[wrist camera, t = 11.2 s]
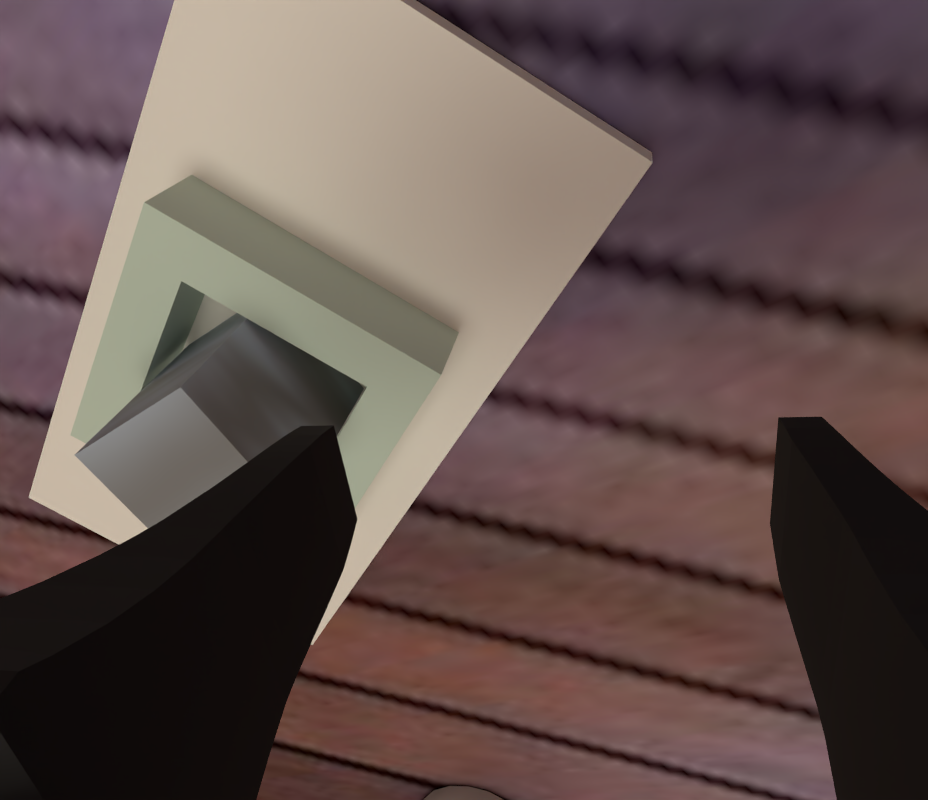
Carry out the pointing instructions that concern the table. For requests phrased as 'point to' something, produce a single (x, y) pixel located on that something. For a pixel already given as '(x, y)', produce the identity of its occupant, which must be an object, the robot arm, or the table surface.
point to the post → (213, 416)
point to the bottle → (461, 794)
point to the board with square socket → (337, 231)
